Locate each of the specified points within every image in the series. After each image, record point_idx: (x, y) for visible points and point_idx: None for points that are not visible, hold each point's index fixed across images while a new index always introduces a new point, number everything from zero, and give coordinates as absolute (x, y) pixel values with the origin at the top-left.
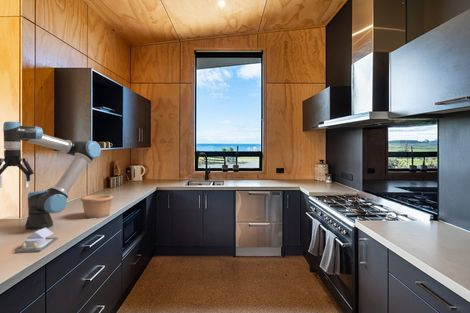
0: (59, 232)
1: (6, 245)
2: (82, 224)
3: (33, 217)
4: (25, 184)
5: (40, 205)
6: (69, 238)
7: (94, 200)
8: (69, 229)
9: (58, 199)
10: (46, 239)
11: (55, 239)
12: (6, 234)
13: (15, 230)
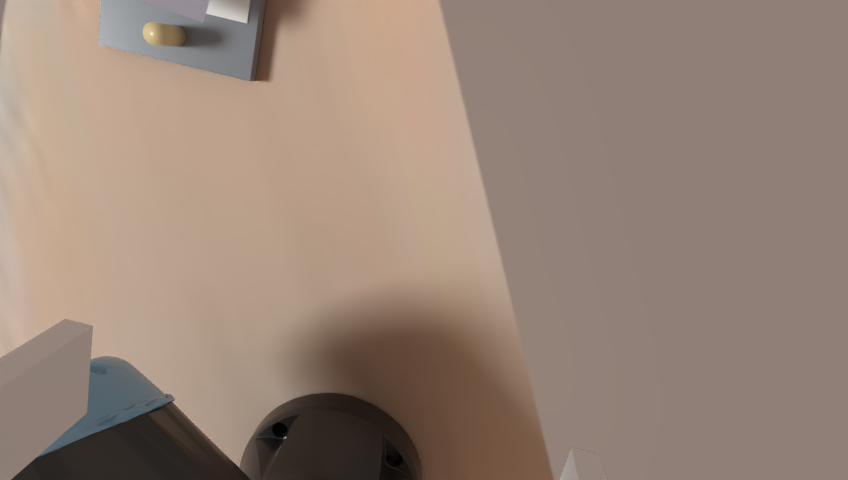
0: (148, 242)
1: (428, 9)
2: None
3: (335, 473)
4: (30, 352)
5: (199, 457)
6: (26, 29)
7: None
8: (101, 302)
9: None
10: (162, 10)
11: (103, 2)
12: (507, 340)
13: (473, 430)
